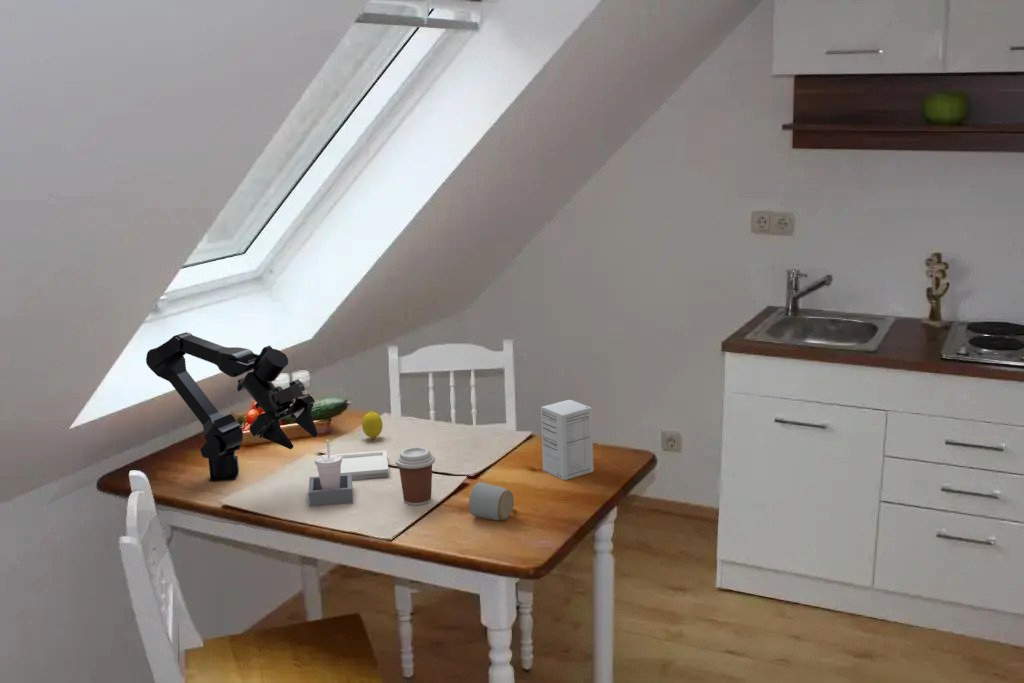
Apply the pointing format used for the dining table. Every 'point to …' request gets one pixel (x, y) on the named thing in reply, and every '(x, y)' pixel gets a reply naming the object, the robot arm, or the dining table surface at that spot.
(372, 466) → the tray
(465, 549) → the dining table surface
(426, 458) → the coffee cup
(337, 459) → the smoothie
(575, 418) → the supplement box
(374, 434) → the lemon
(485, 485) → the grey cylinder
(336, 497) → the holder
